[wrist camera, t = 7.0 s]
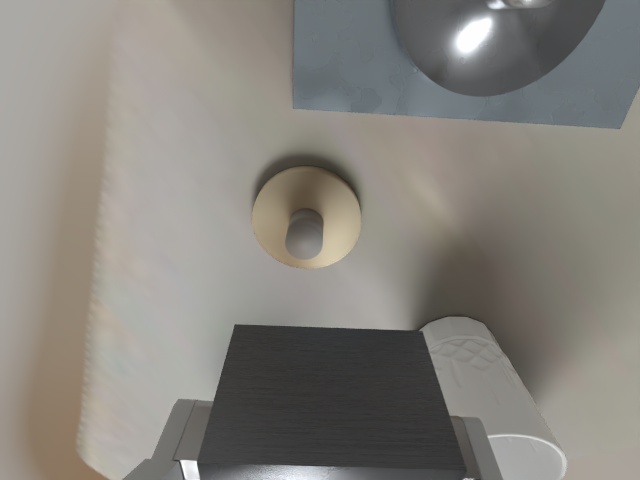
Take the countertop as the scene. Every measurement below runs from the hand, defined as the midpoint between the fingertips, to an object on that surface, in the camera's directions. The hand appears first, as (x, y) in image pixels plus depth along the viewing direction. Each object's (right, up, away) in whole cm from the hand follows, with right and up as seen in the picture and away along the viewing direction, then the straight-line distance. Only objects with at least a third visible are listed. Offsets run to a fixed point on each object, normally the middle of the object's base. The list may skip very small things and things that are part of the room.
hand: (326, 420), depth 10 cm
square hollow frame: (0, +1, +1) cm, 1 cm away
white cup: (+10, -4, +20) cm, 23 cm away
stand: (-1, +7, +15) cm, 16 cm away
